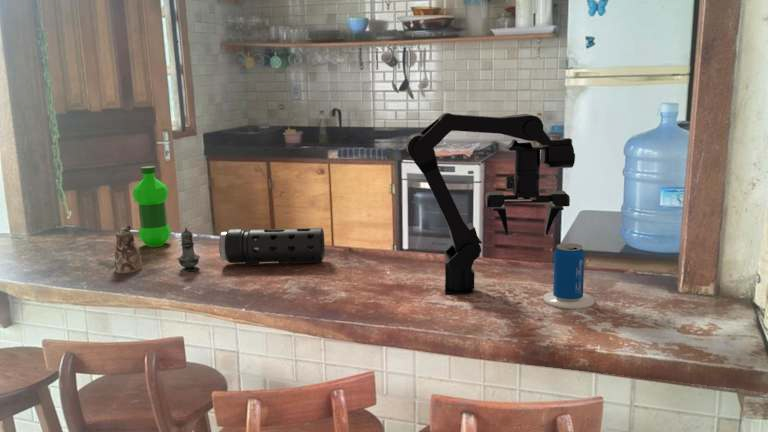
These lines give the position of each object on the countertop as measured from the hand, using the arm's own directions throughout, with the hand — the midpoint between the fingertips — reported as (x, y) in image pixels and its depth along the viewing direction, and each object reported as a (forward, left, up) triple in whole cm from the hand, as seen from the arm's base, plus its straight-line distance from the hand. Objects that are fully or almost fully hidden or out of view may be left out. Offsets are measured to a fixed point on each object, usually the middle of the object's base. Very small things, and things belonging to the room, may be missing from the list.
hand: (526, 234), depth 156 cm
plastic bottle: (-111, +43, -13) cm, 120 cm away
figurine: (-107, +16, -13) cm, 109 cm away
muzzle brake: (-67, +21, -13) cm, 72 cm away
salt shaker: (-89, +15, -13) cm, 91 cm away
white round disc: (+8, -9, -13) cm, 18 cm away
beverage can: (+8, -9, -13) cm, 18 cm away
